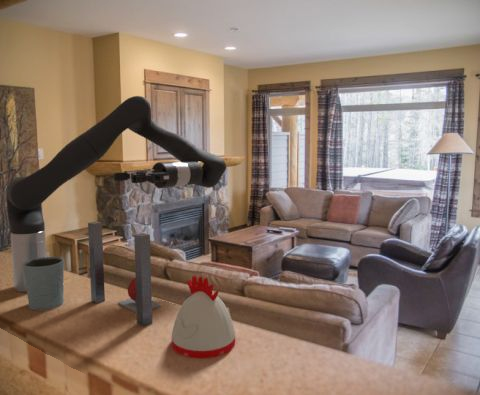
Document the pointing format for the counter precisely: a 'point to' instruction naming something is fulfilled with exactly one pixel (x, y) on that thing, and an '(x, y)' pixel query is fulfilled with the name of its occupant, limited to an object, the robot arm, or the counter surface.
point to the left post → (96, 261)
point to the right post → (143, 279)
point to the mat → (132, 304)
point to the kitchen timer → (203, 323)
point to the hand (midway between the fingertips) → (123, 178)
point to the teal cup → (44, 282)
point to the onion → (132, 290)
